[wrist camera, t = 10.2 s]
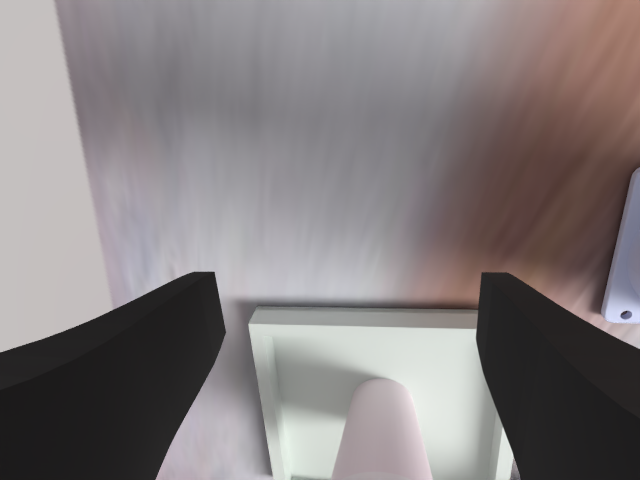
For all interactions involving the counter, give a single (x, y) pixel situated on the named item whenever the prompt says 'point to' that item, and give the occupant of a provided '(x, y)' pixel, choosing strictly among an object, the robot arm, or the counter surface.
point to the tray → (371, 363)
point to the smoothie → (381, 436)
